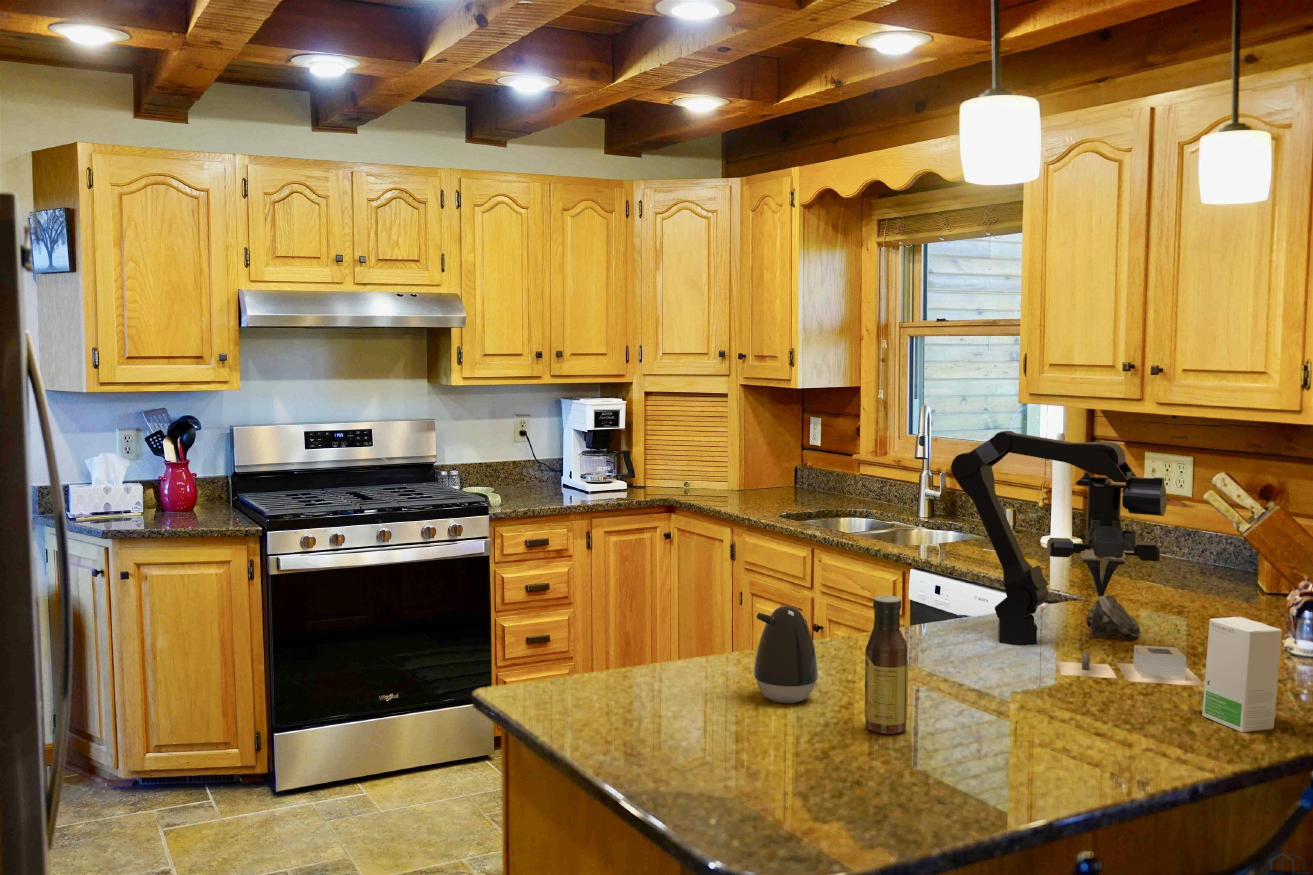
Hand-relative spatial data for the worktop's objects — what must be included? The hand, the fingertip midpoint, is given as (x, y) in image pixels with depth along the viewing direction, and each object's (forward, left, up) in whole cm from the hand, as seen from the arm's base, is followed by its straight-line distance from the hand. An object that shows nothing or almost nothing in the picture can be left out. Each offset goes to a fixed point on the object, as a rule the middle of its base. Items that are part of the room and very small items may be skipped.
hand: (1100, 595), depth 213 cm
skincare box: (+15, -34, -12) cm, 39 cm away
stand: (-4, -12, -12) cm, 17 cm away
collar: (+8, -12, -11) cm, 18 cm away
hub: (+8, -12, -12) cm, 19 cm away
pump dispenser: (-54, -38, -12) cm, 67 cm away
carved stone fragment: (+6, +21, -12) cm, 25 cm away
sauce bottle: (-38, -50, -12) cm, 64 cm away
